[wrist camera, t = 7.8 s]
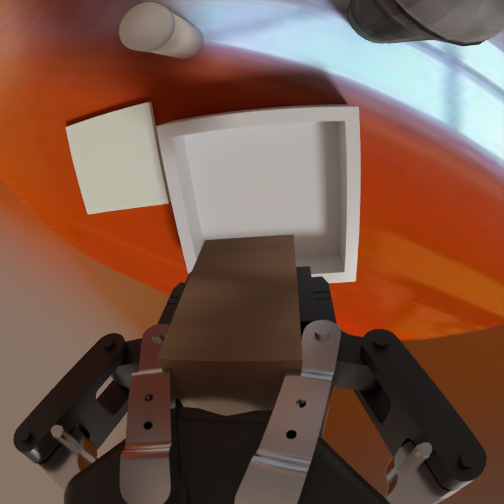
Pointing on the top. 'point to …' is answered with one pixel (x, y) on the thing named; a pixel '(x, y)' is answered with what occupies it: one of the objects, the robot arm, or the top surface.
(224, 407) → the walnut block
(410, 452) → the robot arm
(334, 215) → the grey tub
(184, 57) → the salt shaker
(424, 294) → the top surface
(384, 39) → the beverage cup
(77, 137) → the sage coaster
